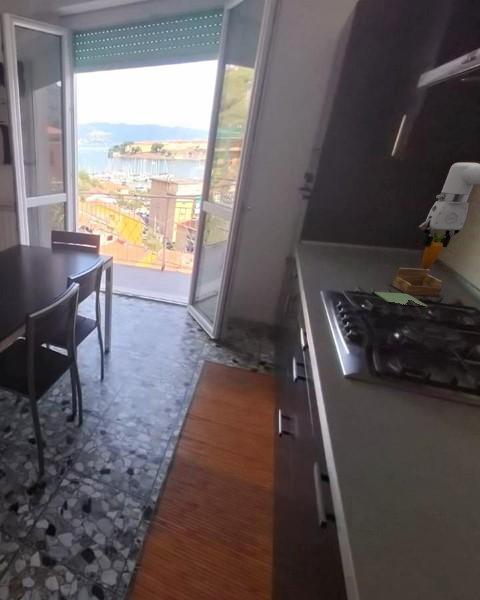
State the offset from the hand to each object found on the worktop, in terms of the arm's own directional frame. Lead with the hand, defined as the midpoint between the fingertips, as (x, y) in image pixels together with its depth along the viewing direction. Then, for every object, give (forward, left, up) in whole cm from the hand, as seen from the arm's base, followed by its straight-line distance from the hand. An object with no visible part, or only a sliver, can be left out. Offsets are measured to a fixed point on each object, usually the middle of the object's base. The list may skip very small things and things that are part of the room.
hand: (434, 245), depth 139 cm
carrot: (0, 0, -10) cm, 10 cm away
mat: (-12, +12, -19) cm, 26 cm away
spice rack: (0, 0, -19) cm, 19 cm away
